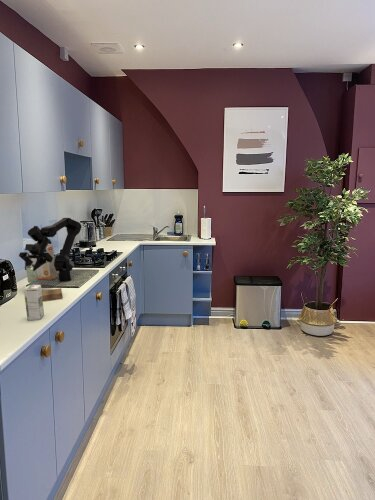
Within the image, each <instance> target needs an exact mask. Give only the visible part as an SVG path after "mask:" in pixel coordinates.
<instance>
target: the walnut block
mask: <svg viewBox="0 0 375 500" xmlns="http://www.w3.org/2000/svg"><path fill="white" fill-rule="evenodd" d="M41 291H42V300H43V303H44V302H47V301H49V302H50V301H56V300H63V291H62V288H61V287H59V288H53V289H46V290H41Z"/></svg>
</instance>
